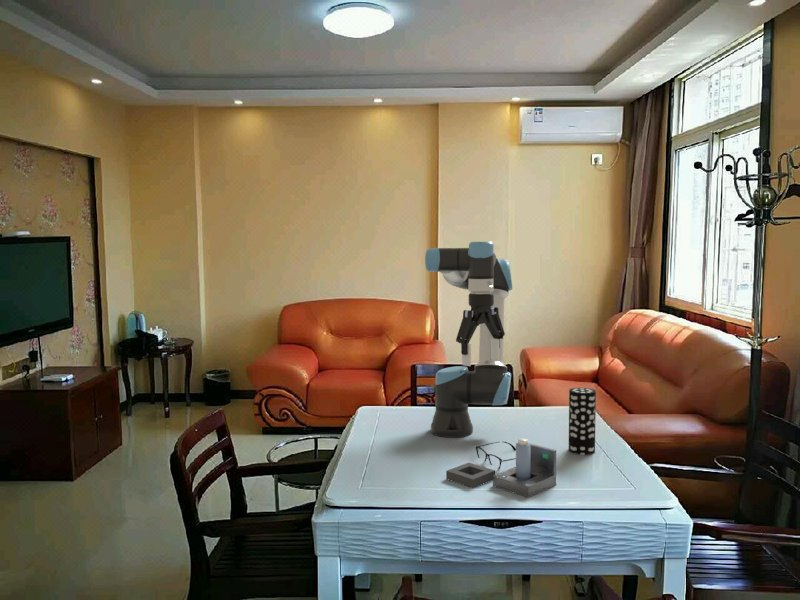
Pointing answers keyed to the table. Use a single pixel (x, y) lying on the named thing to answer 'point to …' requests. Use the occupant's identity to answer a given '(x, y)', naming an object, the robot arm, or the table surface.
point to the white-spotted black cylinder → (582, 421)
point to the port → (531, 473)
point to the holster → (476, 474)
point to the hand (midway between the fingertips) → (481, 362)
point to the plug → (523, 459)
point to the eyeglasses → (494, 455)
